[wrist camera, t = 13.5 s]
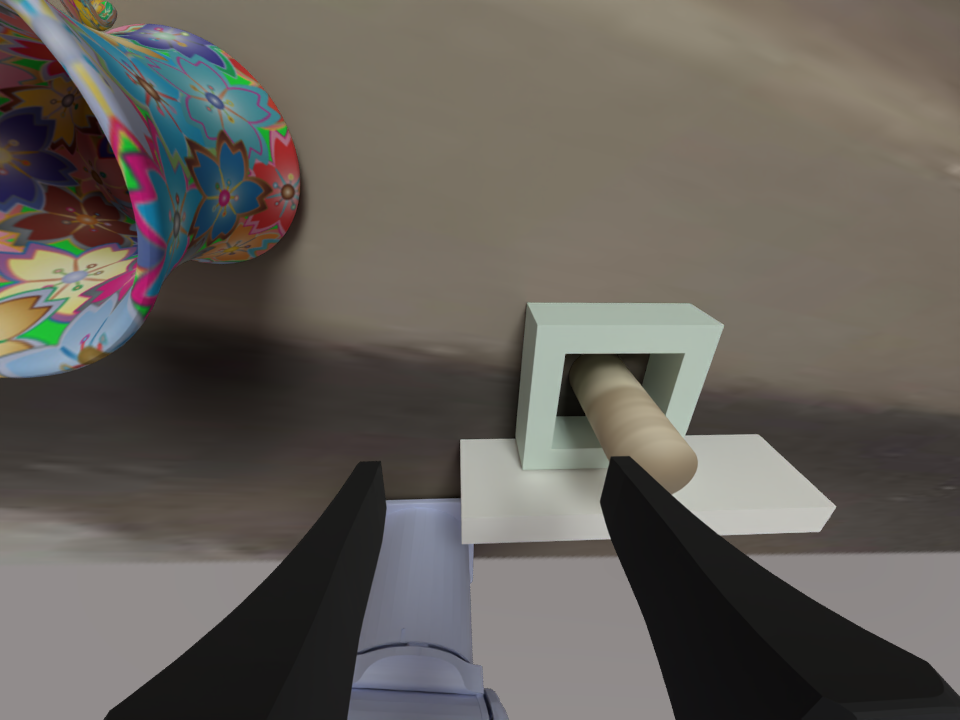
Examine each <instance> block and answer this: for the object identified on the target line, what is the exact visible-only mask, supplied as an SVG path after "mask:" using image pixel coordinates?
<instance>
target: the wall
mask: <svg viewBox="0 0 960 720" xmlns="http://www.w3.org/2000/svg"><path fill="white" fill-rule="evenodd" d="M684 440H685V441H686V442H687V443H688V445H689V446H690V447H691V448H692V450H693V451H694V452H695V454H696V456H697V459H698V467H697V471H696V473H695V475H694V477H693V478H692V480H691V481H690V482H689V483H688V484H687V485H686V486H685V487H683V488H682V489H681V490H679V491H678V492H676V493H674V494H672V496H674V497H675V498H676V499H677V500H678V501H679V502H680V503H681V504H683V505H684V506H685V507H686V508H687V509H688V510H689V511H691V512H692V513H693V514H694V515H695V516H696V517H698V518H699V519H700V520H701V521H702V522H704V523H705V524H706V525H707V526H709V527H710V528H711V529H712V530H714V531H715V532H716V533H717V534H718V535H741V534H770V533H798V532H820V531H821V529H822V528H823V526H824V525H825V523H826V522H827V520H828V519H829V517H830V516H831V514H832V513H833V511H834V510H835V508H836V506H835V505H834V504H833V503H832V502H831V501H830V500H829V499H828V498H826V497H825V496H824V495H823V494H822V493H821V492H820V491H819V490H818V489H817V488H816V487H815V486H814V485H812V484H811V483H810V482H809V481H808V480H807V479H806V478H805V477H804V476H803V475H802V474H801V473H800V472H798V471H797V470H796V469H795V468H794V467H793V466H792V465H791V464H790V463H789V462H788V461H787V460H785V459H784V458H783V457H782V456H781V455H780V454H779V453H778V452H777V451H776V450H775V449H774V448H773V447H771V446H770V445H769V444H768V443H767V442H766V441H765V440H764V439H763V438H762V437H761V436H760V435H759V434H748V435H692V436H685V437H684ZM607 470H608V468H581V469H537V470H522V465H521V460H520V456H519V451H518V446H517V442H516V439H469V440H460V476H461V536H462V544H484V543H512V542H541V541H569V540H598V539H611V538H610V536H609V533H608V530H607V527H606V523H605V520H604V516H603V513H602V509H601V505H600V498H601V494H602V490H603V486H604V482H605V478H606V474H607Z"/></svg>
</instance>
